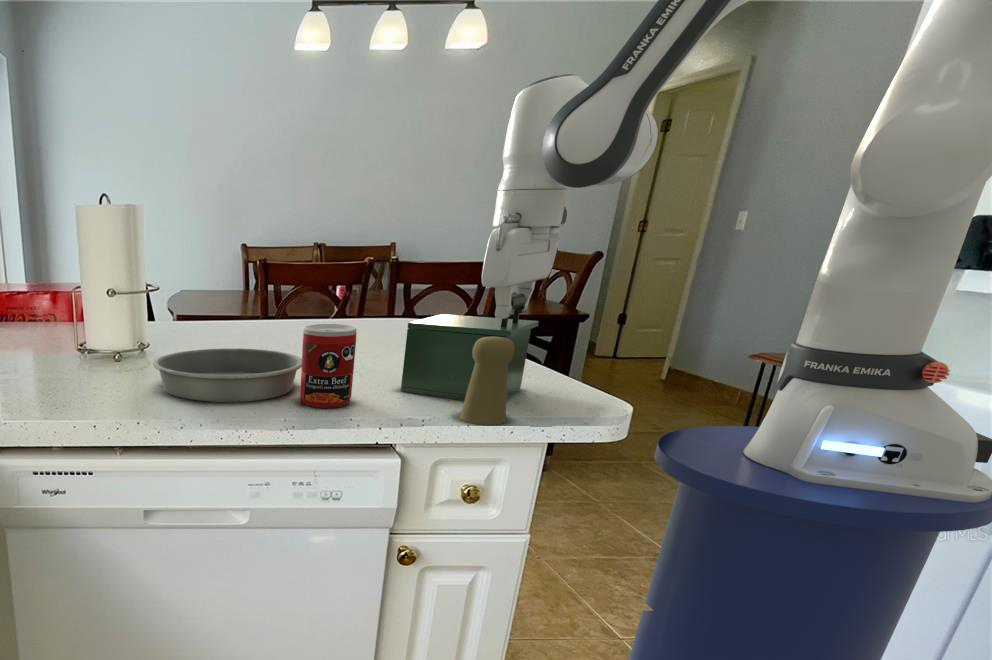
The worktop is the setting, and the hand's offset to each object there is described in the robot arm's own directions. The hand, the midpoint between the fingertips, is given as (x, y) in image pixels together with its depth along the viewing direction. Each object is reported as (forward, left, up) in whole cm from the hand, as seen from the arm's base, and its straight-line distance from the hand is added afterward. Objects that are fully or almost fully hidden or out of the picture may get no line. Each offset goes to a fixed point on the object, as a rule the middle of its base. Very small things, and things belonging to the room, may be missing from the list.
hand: (511, 315), depth 105 cm
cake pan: (+37, +21, -12) cm, 44 cm away
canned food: (+19, +20, -12) cm, 30 cm away
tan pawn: (-3, +15, -12) cm, 20 cm away
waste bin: (+6, 0, -12) cm, 13 cm away
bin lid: (+5, 0, -2) cm, 6 cm away
